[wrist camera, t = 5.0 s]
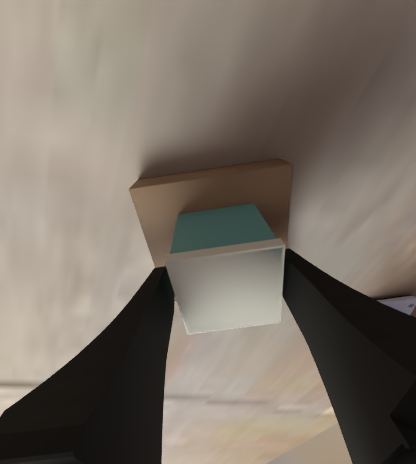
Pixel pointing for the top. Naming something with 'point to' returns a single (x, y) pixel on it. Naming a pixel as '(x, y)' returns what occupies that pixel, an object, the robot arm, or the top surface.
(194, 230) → the teal tin
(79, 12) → the top surface
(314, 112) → the top surface
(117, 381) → the robot arm
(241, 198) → the walnut block
